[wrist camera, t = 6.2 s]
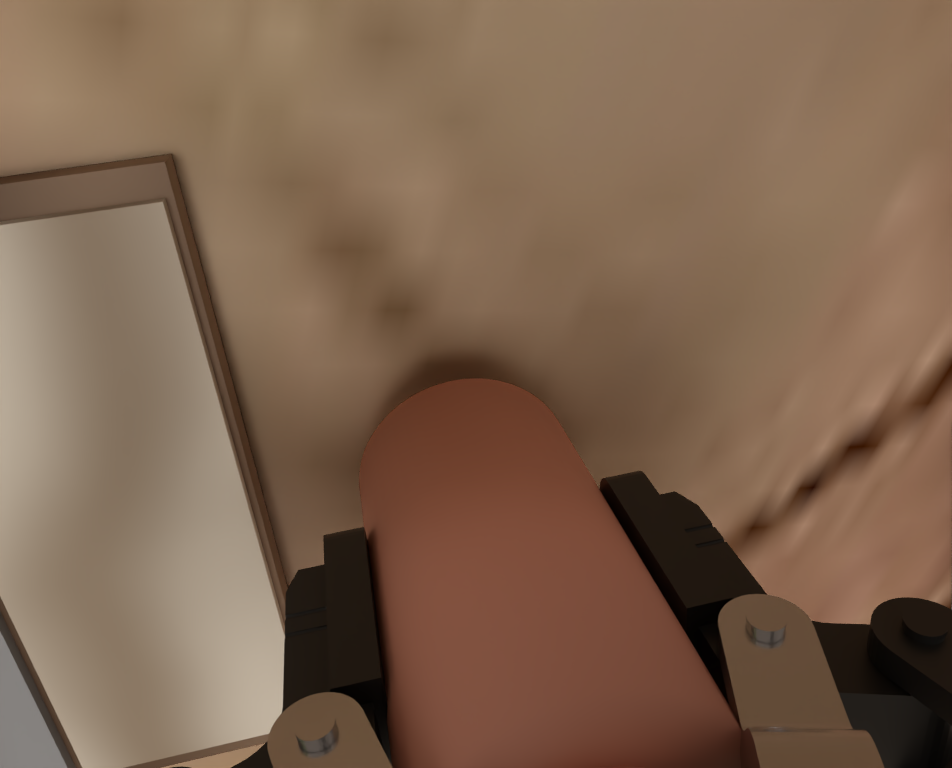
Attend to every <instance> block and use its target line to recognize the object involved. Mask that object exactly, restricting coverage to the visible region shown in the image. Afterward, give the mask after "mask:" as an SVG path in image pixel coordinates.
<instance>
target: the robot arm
mask: <svg viewBox="0 0 952 768" xmlns="http://www.w3.org/2000/svg"><path fill="white" fill-rule="evenodd" d="M600 491H601V493H602V494H603V496H604V498H605V499H606V501H607V503H608V504H609V506H610V508H611V509H612V511H613V513H614V514H615V516H616V518H617V519H618V521H619V523H620V524H621V526H622V528H623V529H624V531H625V533H626V534H627V536H628V538H629V539H630V541H631V543H632V544H633V546H634V548H635V549H636V551H637V553H638V554H639V556H640V558H641V559H642V561H643V563H644V564H645V566H646V568H647V569H648V571H649V573H650V574H651V576H652V578H653V579H654V581H655V583H656V584H657V586H658V588H659V589H660V591H661V593H662V594H663V596H664V598H665V599H666V601H667V603H668V604H669V606H670V608H671V609H672V611H673V613H674V614H675V616H676V618H677V619H678V621H679V623H680V624H681V626H682V628H683V629H684V631H685V633H686V634H687V636H688V638H689V639H690V641H691V643H692V644H693V646H694V648H695V649H696V651H697V653H698V654H699V656H700V658H701V659H702V661H703V663H704V664H705V666H706V668H707V669H708V671H709V673H710V674H711V676H712V678H713V679H714V681H715V683H716V684H717V686H718V688H719V689H720V691H721V693H722V694H723V696H724V698H725V699H726V701H727V703H728V704H729V706H730V708H731V709H732V711H733V713H734V715H735V717H736V719H737V721H738V723H739V725H740V728H741V740H740V760H741V768H952V610H951V609H949V608H947V607H945V606H943V605H940V604H938V603H935V602H932V601H929V600H924V599H919V598H895V599H891V600H888V601H886V602H883V603H881V604H880V605H879V606H877V607H876V609H875V610H874V611H873V614H872V616H871V622H870V625H867V624H834V623H821V622H815V621H811V619H810V618H809V617H808V615H807V614H806V613H805V612H804V611H803V610H802V609H800V608H799V607H798V606H796V605H795V604H793V603H791V602H789V601H787V600H785V599H782V598H779V597H776V596H772V595H767V594H766V593H765V591H764V590H763V589H762V587H761V586H760V585H759V584H758V582H757V581H756V580H755V578H754V577H753V576H752V575H751V573H750V572H749V571H748V569H747V568H746V567H745V565H744V564H743V563H742V562H741V560H740V559H739V558H738V556H737V555H736V554H735V553H734V551H733V550H732V549H731V547H730V546H729V545H728V543H727V542H724V539H723V537H722V536H721V534H720V533H719V532H718V531H717V529H716V528H715V527H713V526H712V523H711V521H710V520H709V519H708V518H707V516H706V515H705V514H704V512H703V511H702V510H701V509H700V507H699V506H698V505H697V504H695V503H693V502H692V501H690V500H688V499H687V498H685V497H683V496H682V495H680V494H678V493H677V492H670V493H665V494H661V495H659V493H658V492H657V490H656V489H655V488H654V486H653V485H652V483H651V482H650V481H649V479H648V478H647V476H646V475H645V474H644V473H643V472H642V471H637V472H632V473H627V474H622V475H617V476H612V477H608V478H603V479H602V480H601V482H600ZM285 617H286V620H285V640H284V678H283V708H282V713H281V715H280V716H279V717H278V718H277V719H276V721H275V723H274V724H273V726H272V728H271V730H270V733H269V736H268V741H267V742H266V743H265V744H264V745H263V746H262V747H261V748H260V749H259V750H258V751H257V752H255V753H254V754H253V755H251V756H250V757H249V758H247V759H246V760H244V761H242V762H241V763H239V764H237V765H235V766H233V767H231V768H393V767H392V761H391V752H390V744H389V735H388V727H387V707H388V706H387V697H386V689H385V681H384V673H383V664H382V656H381V648H380V639H379V631H378V623H377V615H376V606H375V598H374V590H373V581H372V573H371V565H370V557H369V548H368V540H367V536H366V531H365V528H364V527H362V528H357V529H352V530H347V531H342V532H337V533H333V534H328V535H324V565H320V566H315V567H311V568H306V569H301V570H298V572H297V573H296V575H295V577H294V579H293V580H292V582H291V584H290V586H289V588H288V589H287V591H286V601H285ZM172 768H190V767H172Z"/></svg>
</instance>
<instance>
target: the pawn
mask: <svg viewBox="0 0 952 768" xmlns="http://www.w3.org/2000/svg"><path fill="white" fill-rule="evenodd" d="M359 488H360V496H361V505H362V513H363V522H364V528H365V531H366V536H367V540H368V548H369V557H370V565H371V573H372V581H373V590H374V598H375V606H376V615H377V623H378V631H379V639H380V648H381V656H382V664H383V673H384V681H385V689H386V697H387V706H388V707H387V727H388V735H389V744H390V752H391V761H392V767H393V768H741V760H740V740H741V728H740V725H739V723H738V721H737V719H736V717H735V715H734V713H733V711H732V709H731V708H730V706H729V704H728V703H727V701H726V699H725V698H724V696H723V694H722V693H721V691H720V689H719V688H718V686H717V684H716V683H715V681H714V679H713V678H712V676H711V674H710V673H709V671H708V669H707V668H706V666H705V664H704V663H703V661H702V659H701V658H700V656H699V654H698V653H697V651H696V649H695V648H694V646H693V644H692V643H691V641H690V639H689V638H688V636H687V634H686V633H685V631H684V629H683V628H682V626H681V624H680V623H679V621H678V619H677V618H676V616H675V614H674V613H673V611H672V609H671V608H670V606H669V604H668V603H667V601H666V599H665V598H664V596H663V594H662V593H661V591H660V589H659V588H658V586H657V584H656V583H655V581H654V579H653V578H652V576H651V574H650V573H649V571H648V569H647V568H646V566H645V564H644V563H643V561H642V559H641V558H640V556H639V554H638V553H637V551H636V549H635V548H634V546H633V544H632V543H631V541H630V539H629V538H628V536H627V534H626V533H625V531H624V529H623V528H622V526H621V524H620V523H619V521H618V519H617V518H616V516H615V514H614V513H613V511H612V509H611V508H610V506H609V504H608V503H607V501H606V499H605V498H604V496H603V494H602V493H601V491H600V489H599V488H598V486H597V484H596V483H595V481H594V479H593V478H592V476H591V474H590V473H589V471H588V469H587V468H586V466H585V464H584V463H583V461H582V459H581V458H580V456H579V455H578V453H577V451H576V450H575V448H574V446H573V445H572V443H571V441H570V440H569V438H568V436H567V435H566V433H565V431H564V430H563V428H562V426H561V425H560V423H559V421H558V420H557V418H556V417H555V415H554V414H553V413H552V411H551V410H550V409H549V408H548V407H547V406H546V405H545V404H544V403H543V402H542V401H541V400H539V399H538V398H537V397H536V396H534V395H533V394H531V393H529V392H528V391H526V390H524V389H522V388H520V387H517V386H515V385H512V384H510V383H506V382H502V381H498V380H491V379H482V378H478V379H460V380H453V381H449V382H445V383H441V384H438V385H435V386H432V387H430V388H427V389H424V390H423V391H421V392H419V393H417V394H415V395H413V396H411V397H410V398H408V399H407V400H405V401H404V402H402V403H401V404H399V405H398V406H397V407H396V408H395V409H394V410H392V411H391V412H390V413H389V414H388V415H387V416H386V417H385V419H384V420H383V421H382V422H381V423H380V424H379V426H378V427H377V428H376V430H375V431H374V433H373V434H372V436H371V438H370V440H369V442H368V444H367V446H366V448H365V451H364V454H363V457H362V460H361V466H360V471H359Z"/></svg>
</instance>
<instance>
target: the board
mask: <svg viewBox="0 0 952 768" xmlns="http://www.w3.org/2000/svg"><path fill="white" fill-rule="evenodd" d="M287 589H288V587H287V583H286V580H285V576H284V572H283V568H282V565H281V561H280V557H279V554H278V550H277V546H276V542H275V539H274V535H273V531H272V527H271V524H270V520H269V516H268V513H267V509H266V505H265V501H264V498H263V494H262V490H261V486H260V483H259V479H258V475H257V472H256V468H255V464H254V460H253V457H252V453H251V449H250V445H249V442H248V438H247V434H246V431H245V427H244V423H243V419H242V416H241V412H240V408H239V404H238V401H237V397H236V393H235V390H234V386H233V382H232V378H231V375H230V371H229V367H228V363H227V360H226V356H225V352H224V349H223V345H222V341H221V337H220V334H219V330H218V326H217V322H216V319H215V315H214V311H213V308H212V304H211V300H210V296H209V293H208V289H207V285H206V282H205V278H204V274H203V270H202V267H201V263H200V259H199V255H198V252H197V248H196V244H195V241H194V237H193V233H192V229H191V226H190V222H189V218H188V214H187V211H186V207H185V203H184V200H183V196H182V192H181V188H180V185H179V181H178V177H177V173H176V170H175V166H174V162H173V159H172V155H171V154H167V155H160V156H153V157H145V158H138V159H131V160H124V161H116V162H109V163H102V164H94V165H87V166H80V167H73V168H65V169H58V170H51V171H43V172H36V173H29V174H21V175H14V176H7V177H0V768H161V767H165V766H169V765H174V764H178V763H182V762H186V761H190V760H195V759H199V758H203V757H207V756H212V755H216V754H220V753H224V752H229V751H233V750H237V749H241V748H246V747H250V746H254V745H258V744H263V743H266V742H267V741H268V736H269V733H270V730H271V728H272V726H273V724H274V723H275V721H276V719H277V718H278V717H279V716H280V715H281V713H282V708H283V678H284V640H285V620H286V617H285V601H286V591H287Z"/></svg>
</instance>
